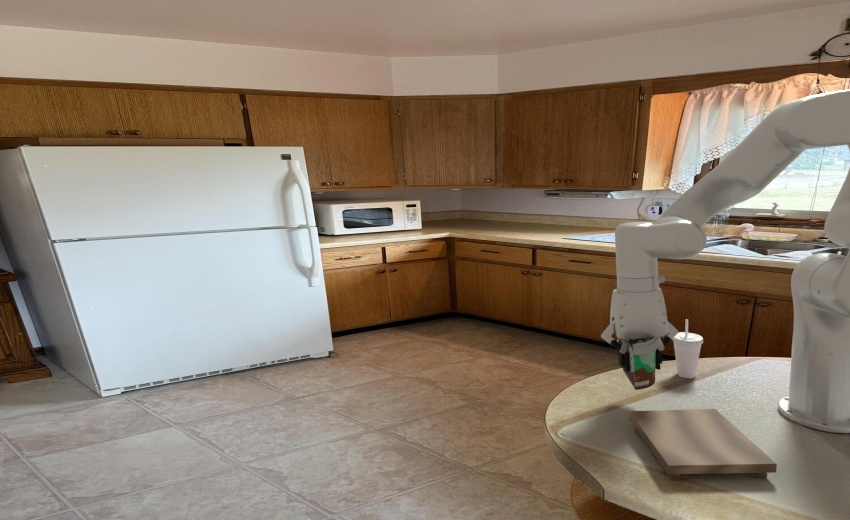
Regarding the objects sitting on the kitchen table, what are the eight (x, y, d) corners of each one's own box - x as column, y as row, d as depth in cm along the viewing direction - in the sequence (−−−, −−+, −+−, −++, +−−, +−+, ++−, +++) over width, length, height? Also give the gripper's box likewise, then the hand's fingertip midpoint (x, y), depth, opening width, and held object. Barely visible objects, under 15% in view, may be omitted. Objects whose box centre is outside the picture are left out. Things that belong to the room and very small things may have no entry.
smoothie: (666, 375, 107) (667, 320, 104) (676, 367, 111) (677, 313, 109) (696, 383, 102) (698, 324, 100) (706, 374, 106) (707, 317, 104)
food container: (671, 391, 86) (667, 342, 85) (637, 393, 88) (633, 345, 86) (650, 365, 98) (647, 322, 97) (621, 367, 100) (617, 325, 98)
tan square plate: (714, 423, 86) (715, 408, 85) (775, 481, 69) (776, 463, 69) (628, 425, 87) (628, 411, 87) (668, 482, 71) (668, 465, 70)
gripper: (672, 276, 93) (674, 358, 96) (588, 283, 94) (593, 364, 97) (691, 283, 85) (692, 372, 88) (599, 291, 87) (603, 378, 90)
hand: (640, 367), depth 93 cm, fingers closed on food container, 5 cm apart
